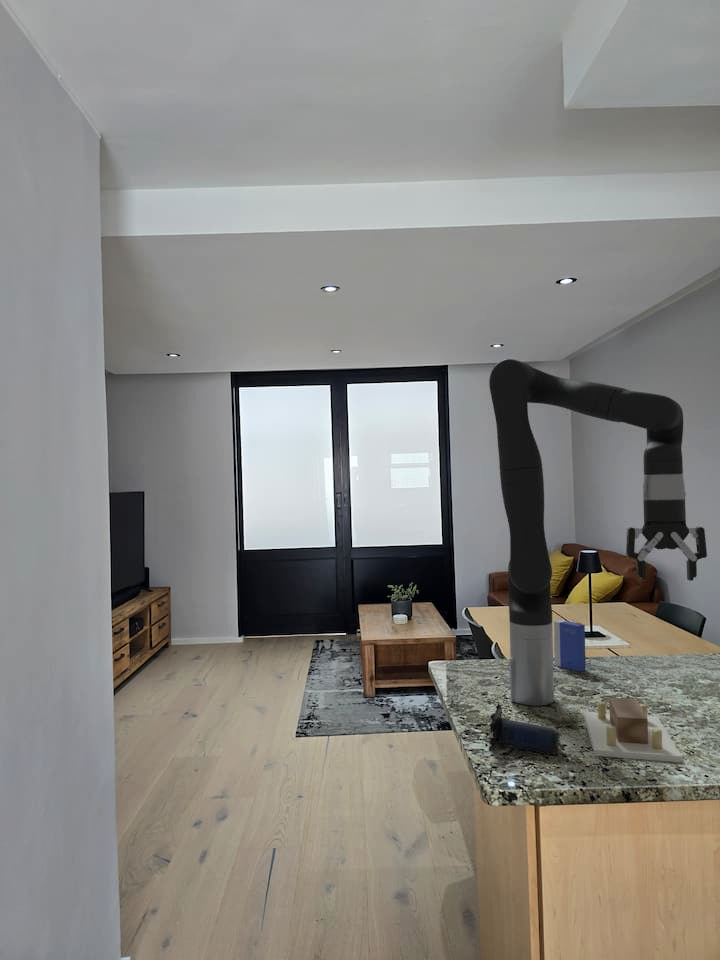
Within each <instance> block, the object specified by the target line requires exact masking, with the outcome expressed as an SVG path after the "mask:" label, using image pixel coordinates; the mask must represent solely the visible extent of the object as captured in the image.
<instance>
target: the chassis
mask: <svg viewBox="0 0 720 960" xmlns="http://www.w3.org/2000/svg"><path fill="white" fill-rule="evenodd" d="M639 704H640V706H641V708H642V710H643V712H644V713H645V715H646V717H647V719H648V744H638V743H624V742H618V740H617V738H616V727H614V726H612V725H611V722H610V712H607V703H606V702H604V701H597V708H596V709H597V711H596V712H594V711H583V719H584V722H585V727H586V730H587V733H588V736H589V741H590V744H591V748H592V751H593V755H594V756H596V757H605V758H606V757H608V758H620V759H635V760H646V761H659V762H660V761H661V762H671V763H672V762H673V763H674V762H675V763H683V762H682V760H683V759H682V754H681V753H680V752H679V749H678V748H677V746H676V745H675V744H674V741H673V740H672V738H671V737H670V735H669V734H668V732H667V730H666V728H665V726H664V725H663V724H662V723H663V722H662V721H661V720H660V718H659V717H658V715H648V705H647V704H646V703H645V704H644V703H639Z"/></svg>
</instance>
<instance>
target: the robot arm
mask: <svg viewBox="0 0 720 960" xmlns="http://www.w3.org/2000/svg"><path fill="white" fill-rule="evenodd" d="M488 384H489V385H488V387H489V391H490V393H489V394H490V396H491V401H492V407H493V412H494V413H493V414H494V418H495V423H496V425H495V426H496V434H497V435H496V436H497V448H498V449H497V451H498V461H499V462H498V463H499V477H500V478H499V479H500V489H501V495H502V499H503V500H502V501H503V505H504V509H505V510H504V511H505V514H506V518H507V522H508V523H507V524H508V528H509V543H510V544H509V545H510V546H509V549H510V550H509V551H510V552H509V553H510V555H509V561H508V565H507V566H508V567H507V574H508V575H507V583H508V614H509V616H508V617H509V619H508V620H509V675H510V677H509V678H510V679H509V680H510V682H509V684H510V687H509V688H510V703H517V704H520V705H521V704H522V705H526V706H537V707H539V706H547V705H550V704H553V703H554V701H555V695H554V694H555V689H554V688H555V687H554V686H555V685H554V646H553V645H554V643H553V642H554V633H553V632H554V631H553V609H552V598H551V597H552V596H551V595H552V593H551V591H552V590H551V580H552V577H553V567H552V563H551V560H550V556H549V550H548V545H547V540H546V533H545V532H546V531H545V483H544V481H545V480H544V470H543V463H542V457H541V454H540V453H541V452H540V450H539V447H538V445H537V442H536V438H535V436H534V433H533V430H532V428H531V424H530V419H529V411H528V410H529V408H528V407H529V406H528V403H529V404H543V405H549V406H556V407H559V408H563V409H566V410H570V411H573V412H576V413H579V414H582V415H585V416H590V417H592V418H597V419H601V420H605V421H609V422H614V423H624V424H627V425H631V426H635V427H638V428H642V429H644V430H646V447H645V449H644V452H643V483H642V484H643V485H642V493H643V494H642V498H643V501H642V502H643V504H642V505H643V526H642V528H641V527H640V528H639V527H633V526H629V527H627V528H626V548H625V549H626V551H625V555H626V556H627V557H628V558H630V559H634V560H635V561H636V575H637V577H638V578H640V581H646V580H647V572H646V571H647V569H646V568H647V567H646V565H647V564H646V561H645V559H646V558H647V556H648V555H649V554H650V553H651V552H652V551H653V550H654V549H656V550H665V549H667V550H676V549H679V551H680V552H681V553H682V554H683V555H684V556H685V557H686V558H687V560H686V579H687V581H694V579H695V578H697V576H698V575H697V573H698V572H697V571H698V570H697V568H698V567H697V562H698V561H699V560H701V559H703V558H704V559H706V558H707V556H708V553H707V540H706V530H705V528H704V527H703V526H695V527H688V524H687V520H686V519H687V518H686V517H687V515H686V514H687V513H686V496H687V495H686V494H687V493H686V485H685V480H684V471H683V470H684V467H683V461H684V460H683V452H682V450H683V449H682V447H683V446H682V444H683V434H684V413H683V408H682V406H681V405H680V404H679V403H678V402H677V401H675V400H674V399H672V398H671V397H669V396H667V395H666V396H665V395H662V394H656V393H649V392H643V391H635V390H629V389H627V388H625V387H624V388H623V387H619V386H615V385H610V384H609V385H608V384H605V383H599V382H593V381H585V380H578V379H570V378H564V377H560V376H555V375H553V374H549V373H547V372H545V371H542V370H540V369H538V368H535V367H532V366H531V365H530V364H528V363H526V362H524V361H521V360H518V359H514V358H505V359H501V360H500V361H499V362H497V363H496V364H495V365H494V366H493V368H492V370H491V372H490V375H489V381H488ZM641 534H642V536H643V537H644V538H645V539H646V541H645V543H644V544H643V545H642V547H641V549H640V550H639V551H638V552H635V547H636V546H635V545H636V539H639V537H640V535H641ZM689 534H690V535H691V537H692V538H693V539H695V544H696V545H695V546H696V552H693V551H692V550H691V549H690V547H689V546H688V545H687V543H686V542H685V539H686V538H687V537H688V535H689Z"/></svg>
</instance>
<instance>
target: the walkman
mask: <svg viewBox="0 0 720 960" xmlns="http://www.w3.org/2000/svg"><path fill="white" fill-rule="evenodd" d="M585 627H586V626H585V624H582V622H579V621H575V622H573V621H567V620H562V619H560V620H554V621H553V628H554V629H553V630H554V631H553V632H554V633H553V642H554V643H553V645H554V646H553V654H554V666H556V667H560V668H562V669H566V668H567V670H570V671H575V672H577V671H578V673H579V672H583V671H584V672H585V671H586V670H587V669H586V667H587V666H586V664H587V663H586V628H585Z"/></svg>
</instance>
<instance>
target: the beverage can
mask: <svg viewBox="0 0 720 960" xmlns="http://www.w3.org/2000/svg"><path fill="white" fill-rule="evenodd" d="M495 706H496V707H495V708H496V709H495V712H494V713H493V712H492V714H491V715H490V716H489V717H490V719H491V721H492V722H491V723H490V724H489V730H490V731H489V733H492V736H491V737H490V738H489V740H490V741H489V746H488V751H490V752H493V753H495V752H496V751H497V748H498V746H499V745H500V743H502V744H503V745H504V746H507V747H513V748H518V749H522V750H526V751H532V752H537V753H541V754H547V755H554V754H559V747H560V736H561V735H560V734H561V733H560V732H559V731H558V730H557V729H555V728H553V727H549V726H542V725H539V724H532V723H528V722H523V721H517V720H512V719H506V718H504V719H503V718H502V714H503V712H504V711H503V709H504V708H503V707H502V705H501V704H500V703H497V704H496V705H495Z"/></svg>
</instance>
